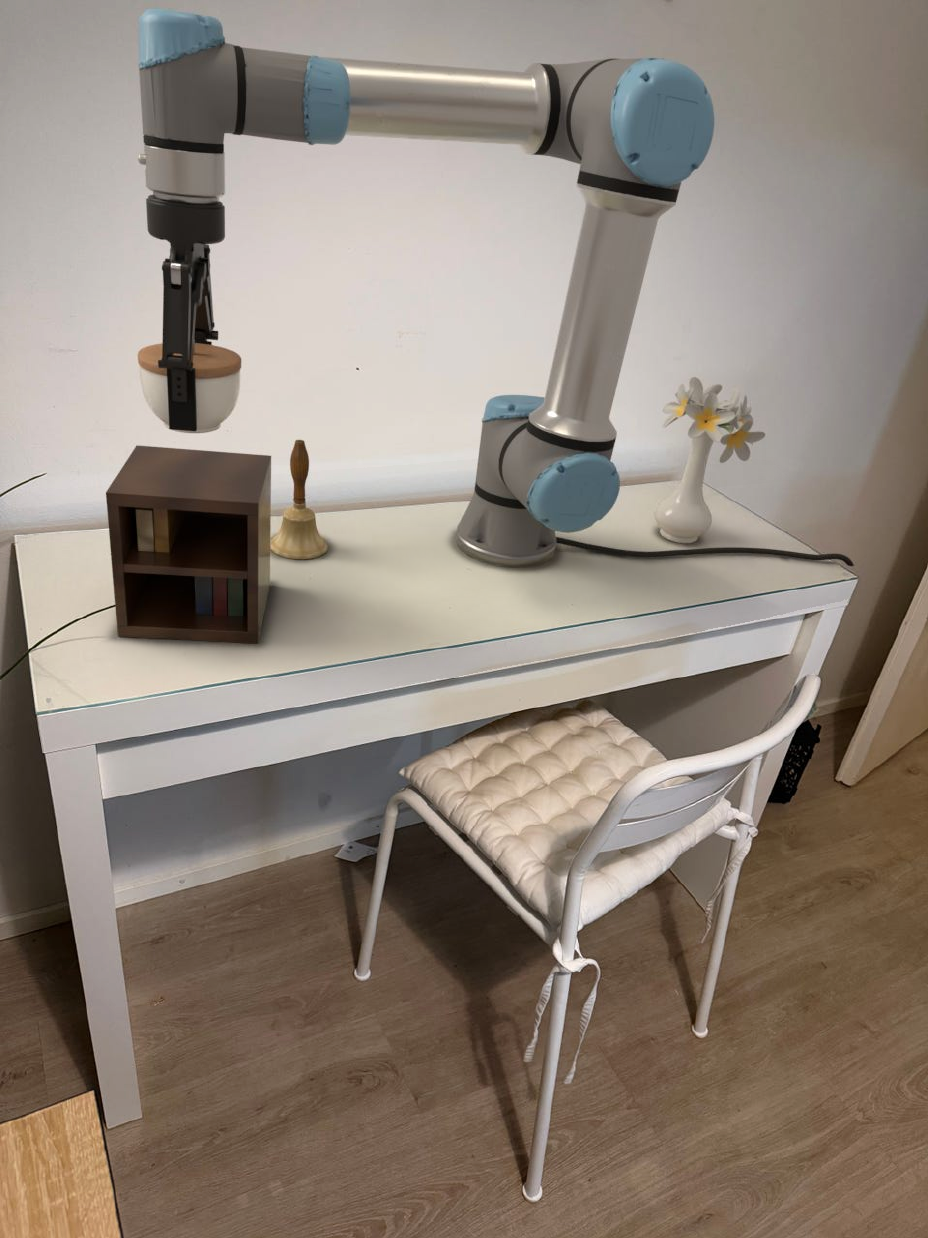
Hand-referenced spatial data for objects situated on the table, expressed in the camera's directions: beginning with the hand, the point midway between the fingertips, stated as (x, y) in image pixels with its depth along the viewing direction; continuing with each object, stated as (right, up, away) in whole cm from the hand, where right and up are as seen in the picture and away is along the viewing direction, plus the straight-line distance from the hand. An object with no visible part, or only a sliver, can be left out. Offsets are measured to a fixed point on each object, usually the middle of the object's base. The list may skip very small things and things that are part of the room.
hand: (192, 412), depth 102 cm
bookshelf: (-3, -22, +12) cm, 25 cm away
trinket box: (0, -1, +1) cm, 2 cm away
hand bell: (+6, -13, +31) cm, 34 cm away
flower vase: (+66, -9, +50) cm, 84 cm away
